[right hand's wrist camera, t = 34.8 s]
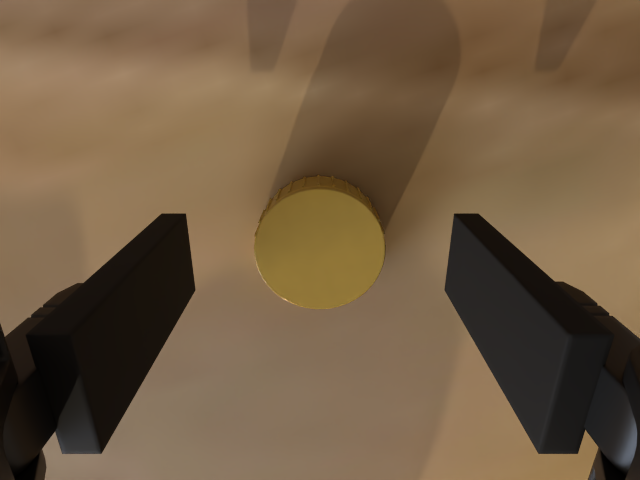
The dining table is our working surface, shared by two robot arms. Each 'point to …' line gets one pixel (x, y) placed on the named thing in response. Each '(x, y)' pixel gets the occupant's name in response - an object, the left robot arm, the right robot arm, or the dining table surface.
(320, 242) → the cap
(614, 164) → the dining table surface
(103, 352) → the right robot arm
